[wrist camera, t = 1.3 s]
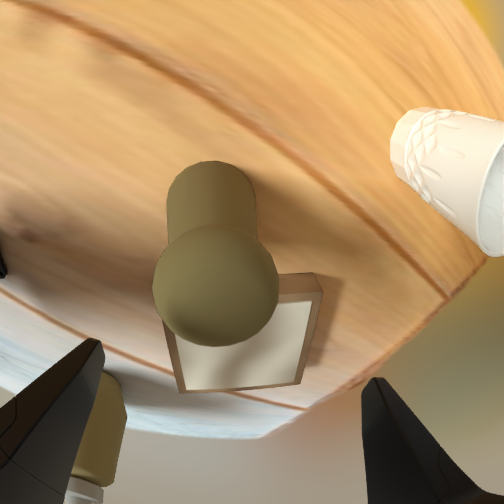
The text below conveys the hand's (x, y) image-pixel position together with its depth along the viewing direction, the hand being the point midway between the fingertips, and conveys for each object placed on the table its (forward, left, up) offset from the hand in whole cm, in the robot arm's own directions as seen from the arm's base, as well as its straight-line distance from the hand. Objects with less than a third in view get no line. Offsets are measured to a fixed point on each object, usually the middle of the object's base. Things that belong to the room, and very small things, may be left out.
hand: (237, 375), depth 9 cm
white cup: (+16, +5, -14) cm, 21 cm away
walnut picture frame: (+2, -12, -14) cm, 18 cm away
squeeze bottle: (-14, -20, -14) cm, 28 cm away
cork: (0, 0, -14) cm, 14 cm away
